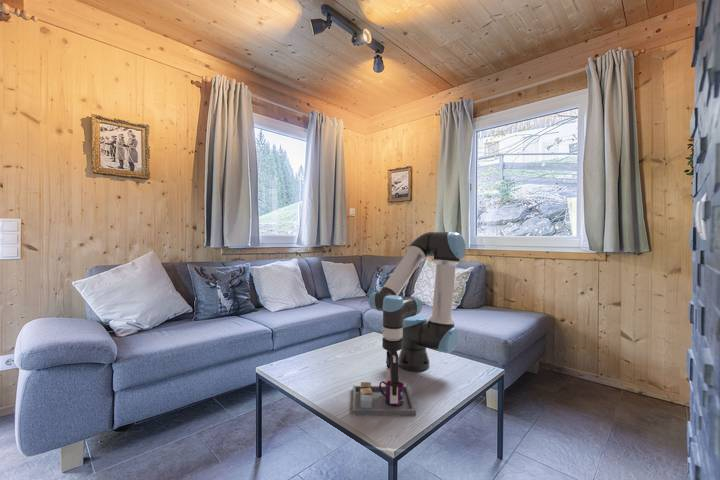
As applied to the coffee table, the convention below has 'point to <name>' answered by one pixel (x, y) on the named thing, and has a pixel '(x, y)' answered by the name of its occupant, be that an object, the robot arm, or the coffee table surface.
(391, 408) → the tray
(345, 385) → the coffee table surface
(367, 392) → the block beech
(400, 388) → the mug
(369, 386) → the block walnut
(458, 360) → the coffee table surface
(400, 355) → the robot arm
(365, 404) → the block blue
